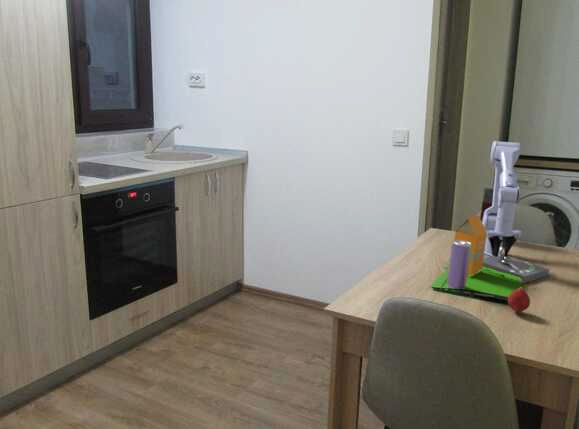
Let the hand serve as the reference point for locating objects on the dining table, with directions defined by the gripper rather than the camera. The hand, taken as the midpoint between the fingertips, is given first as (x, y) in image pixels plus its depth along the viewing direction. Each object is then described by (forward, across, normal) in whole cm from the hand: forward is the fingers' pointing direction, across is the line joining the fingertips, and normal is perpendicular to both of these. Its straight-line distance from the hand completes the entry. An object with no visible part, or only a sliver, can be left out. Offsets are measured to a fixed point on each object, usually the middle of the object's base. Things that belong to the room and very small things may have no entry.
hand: (499, 255), depth 193 cm
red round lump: (+4, -23, -37) cm, 44 cm away
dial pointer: (+1, 0, -6) cm, 6 cm away
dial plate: (+4, +1, -5) cm, 7 cm away
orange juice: (+4, -16, -4) cm, 17 cm away
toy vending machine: (+4, +22, +32) cm, 38 cm away
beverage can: (+4, -29, -16) cm, 33 cm away
